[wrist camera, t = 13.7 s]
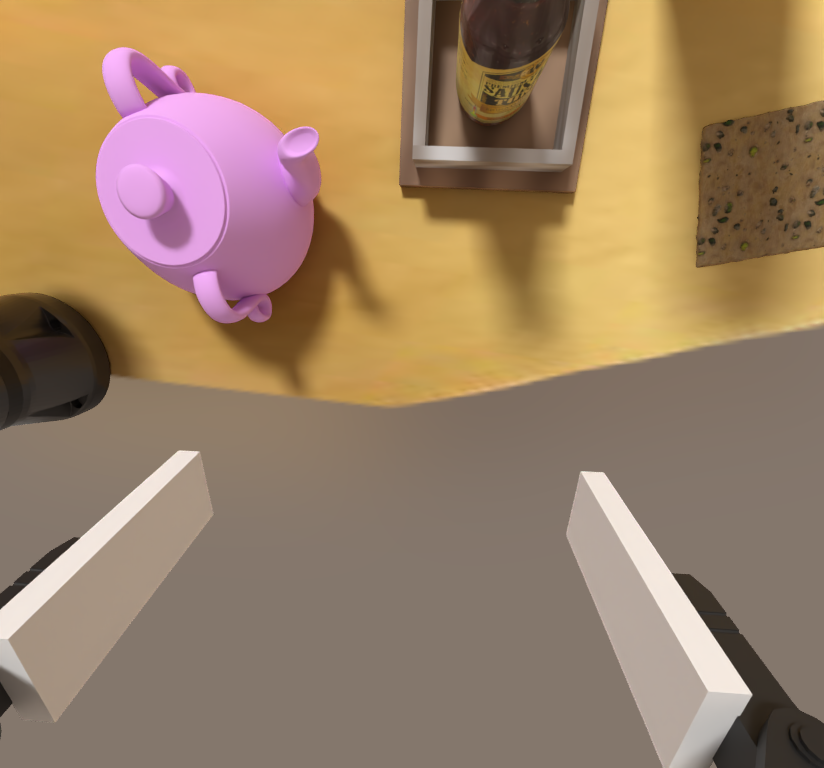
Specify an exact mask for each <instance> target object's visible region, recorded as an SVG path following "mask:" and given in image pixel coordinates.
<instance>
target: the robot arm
mask: <svg viewBox="0 0 824 768" xmlns="http://www.w3.org/2000/svg"><path fill="white" fill-rule="evenodd" d="M109 381H110V367H109V361H108V357H107V354H106V351H105V349H104V346H103V344H102V342H101V340H100V338H99V337H98V335H97V334H96V332H95V331H94V329H93V328H92V327H91V326H90V324H89V323H88V322H87V321H86V320H85V319H84V318H83V317H82V316H81V315H80V314H79V313H78V312H76V311H75V310H74V309H72V308H71V307H70V306H68V305H67V304H65V303H63V302H61V301H59V300H57V299H55V298H53V297H50V296H47V295H43V294H38V293H20V294H11V295H3V296H0V430H2V429H5V428H7V427H10V426H15V425H23V424H32V423H40V422H48V421H57V420H64V419H68V418H71V417H74V416H76V415H79V414H81V413H83V412H86V411H88V410H90V409H92V408H93V407H95V406H96V405H98V404H99V403H100V402H101V400H102V399H103V398H104V396H105V394H106V392H107V390H108V387H109ZM212 515H213V509H212V505H211V500H210V496H209V491H208V486H207V482H206V477H205V473H204V468H203V464H202V459H201V455H200V452H196V451H178V452H176V453H175V454H174V455H173V456H172V457H171V458H170V459H169V460H168V461H166V462H165V463H164V464H163V465H162V466H161V467H160V468H159V469H158V470H156V471H155V472H154V473H153V474H152V475H151V476H150V477H148V478H147V479H146V480H145V481H144V482H143V483H142V484H141V485H140V486H138V487H137V488H136V489H135V490H134V491H133V492H132V493H130V495H128V496H127V497H126V498H125V499H124V500H123V501H121V503H119V504H118V505H117V506H116V507H115V508H114V509H113V510H111V511H110V512H109V513H108V514H107V515H106V516H105V517H104V518H102V519H101V520H100V521H99V522H98V523H97V524H96V525H95V526H94V527H92V528H91V529H90V530H89V531H88V532H87V533H86V534H85V535H84V536H82V537H81V538H76V537H74V538H72V539H70V540H68V541H67V542H65V543H63V544H62V545H60V546H58V547H57V548H55V549H53V550H51V551H50V552H49V553H47V554H46V555H45V556H44V557H43V558H42V559H40V560H39V561H38V562H37V563H36V564H35V565H33V566H32V567H31V568H30V571H29V572H25V573H24V574H23V575H22V576H21V577H19V578H18V579H17V580H16V581H15V582H14V584H13V586H9V587H8V588H7V589H5V590H4V591H3V592H2V593H1V594H0V717H1V716H2V715H3V713H4V712H5V711H6V710H7V709H8V708H9V707H10V705H11V704H13V706H14V708H15V709H16V711H17V713H18V714H19V716H20V717H21V719H22V720H29V721H41V722H52V723H55V722H56V721H57V720H58V718H59V717H60V716H61V714H62V713H63V712H64V710H65V709H66V708H67V706H68V705H69V704H70V703H71V701H72V700H73V699H74V697H75V696H76V694H77V693H78V692H79V691H80V689H81V688H82V686H83V685H84V684H85V683H86V681H87V680H88V679H89V677H90V676H91V675H92V674H93V672H94V671H95V670H96V668H97V667H98V666H99V664H100V663H101V662H102V660H103V659H104V658H105V656H106V655H107V654H108V652H109V651H110V650H111V649H112V647H113V646H114V645H115V643H116V642H117V641H118V639H119V638H120V637H121V635H122V634H123V633H124V631H125V630H126V629H127V627H128V626H129V625H130V623H131V622H132V620H134V618H135V617H136V615H137V614H138V613H139V612H140V610H141V609H142V608H143V606H144V605H145V604H146V602H147V601H148V600H149V598H150V597H151V596H152V594H153V593H154V592H155V590H156V589H157V587H159V585H160V584H161V583H162V581H163V580H164V579H165V577H166V576H167V575H168V573H169V572H170V570H171V569H172V568H173V567H174V565H175V564H176V563H177V562H178V560H179V559H180V558H181V556H182V555H183V554H184V552H185V551H186V550H187V548H188V547H189V546H190V544H191V543H192V542H193V540H194V539H195V538H196V537H197V535H198V534H199V533H200V531H201V530H202V529H203V527H204V526H205V524H206V523H207V522H208V520H209V519H210V518H211V517H212ZM566 536H567V538H568V541H569V543H570V545H571V547H572V550H573V553H574V555H575V557H576V560H577V562H578V564H579V567H580V569H581V572H582V574H583V577H584V579H585V581H586V584H587V586H588V589H589V591H590V593H591V595H592V598H593V601H594V603H595V605H596V607H597V610H598V612H599V615H600V617H601V620H602V622H603V625H604V627H605V629H606V632H607V634H608V636H609V639H610V641H611V644H612V646H613V649H614V651H615V653H616V656H617V658H618V661H619V663H620V665H621V668H622V670H623V673H624V675H625V677H626V680H627V682H628V684H629V687H630V689H631V692H632V694H633V697H634V699H635V701H636V704H637V706H638V709H639V711H640V713H641V716H642V718H643V721H644V723H645V725H646V728H647V730H648V733H649V735H650V737H651V740H652V742H653V744H654V747H655V749H656V752H657V754H658V757H659V759H660V761H661V764H662V766H663V768H709V767H710V766H711V764H712V762H713V761H714V762H715V764H716V766H717V768H824V723H822V722H821V721H819V720H818V719H817V718H814V717H812V716H810V715H808V714H806V713H804V712H802V711H800V710H799V709H798V708H797V707H796V706H795V704H794V703H793V702H792V701H791V699H790V698H789V697H788V695H787V694H786V693H785V691H784V690H783V689H782V687H781V686H780V685H779V683H778V682H777V681H776V679H775V678H774V677H773V675H772V674H771V672H770V671H769V670H768V669H767V667H766V666H765V664H764V663H763V662H762V660H761V659H760V658H759V656H758V655H757V654H756V652H755V651H754V650H753V648H752V647H751V646H750V645H749V643H748V642H747V640H746V639H745V638H744V636H743V635H742V634H740V633H739V629H738V628H737V627H736V625H735V624H734V623H733V621H732V620H731V619H730V617H727V616H726V612H725V611H724V609H723V608H722V607H721V605H720V604H719V603H718V601H717V600H716V598H715V597H714V596H713V594H712V593H711V592H710V591H709V590H708V589H706V588H705V587H704V586H703V585H702V584H701V583H699V582H698V581H697V580H696V579H695V578H694V577H692V576H691V575H689V574H674V573H671V572H670V571H669V569H668V568H667V566H666V565H665V563H664V562H663V560H662V559H661V557H660V556H659V554H658V553H657V551H656V550H655V548H654V547H653V545H652V544H651V542H650V541H649V540H648V538H647V536H646V535H645V533H644V532H643V530H642V529H641V527H640V526H639V525H638V523H637V521H636V520H635V519H634V517H633V515H632V514H631V513H630V511H629V510H628V508H627V507H626V505H625V504H624V502H623V501H622V499H621V498H620V496H619V495H618V493H617V492H616V490H615V489H614V487H613V486H612V484H611V483H610V481H609V480H608V478H607V477H606V475H605V474H604V473H602V472H583V471H581V472H580V476H579V480H578V485H577V489H576V494H575V498H574V502H573V506H572V511H571V515H570V519H569V524H568V528H567V533H566ZM0 737H1V725H0Z"/></svg>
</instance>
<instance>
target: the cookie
mask: <svg viewBox="0 0 824 768" xmlns="http://www.w3.org/2000/svg"><path fill="white" fill-rule="evenodd" d="M701 149H702V151H701V171H700V180H699V190H700V194H699V214H698V217H697V218H698V227H697V236H696V239H697V251H696V254H697V260H696V267H703V266H710V265H717V264H724V263H728V262H737V261H742V260H746V259H752V258H759V257H763V256H770V255H776V254H781V253H784V254H785V253H789V252H792V251H799V250H807V249H812V248H818V247H823V246H824V101H818V102H813V103H811V104H808V105H804V106H798V107H790V108H787V109H783V110H780V111H774V112H768V113H765V114H762V115H758V116H754V117H746V118H742V119H738V120H728V121H727V122H723V123H717V124H711V125H708V126H706V127H704V128H703V131H702V140H701Z"/></svg>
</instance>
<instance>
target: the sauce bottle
mask: <svg viewBox="0 0 824 768" xmlns="http://www.w3.org/2000/svg"><path fill="white" fill-rule="evenodd" d="M569 7H570V0H462V3H461V9H460V19H459V36H458V52H457V67H456V89H457V95H458V99H459V102H460V106H461V108H462V110H463V112H464V113H465V115H466V116H467V117H468V118H470V119H471V120H472V121H473V122H476V123H478V124H480V125H483V126H491V125H497V124H501V123H503V122H504V121H506V120H509V119H510V118H511V117H512V116H513V115H514V114H516V113H517V112H518V111H519V110H520V109H521V108H522V106H523V105H524V104H525V103H526V101H527V99H528V97H529V95H530V93H531V91H532V90H533V88H534V86H535V84H536V82H537V80H538V78H539V76H540V75H541V73H542V71H543V68H544V67H545V65H546V63H547V61H548V59H549V57H550V55H551V53H552V51H553V49H554V47H555V46H556V44H557V42H558V40H559V38H560V36H561V34H562V32H563V30H564V28H565V26H566V23H567V20H568V14H569Z"/></svg>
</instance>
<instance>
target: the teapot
mask: <svg viewBox="0 0 824 768" xmlns="http://www.w3.org/2000/svg"><path fill="white" fill-rule="evenodd" d="M102 71H103V78H104V82H105V85H106V88H107V91H108V93H109V95H110V97H111V99H112V102H113V103H114V105H115V107H116V109H117V111H118V112H119V113H120V115H121V116H122V117H123V119H122V120H121V121H119V122H118V123H117V124H116V125H115V126H114V128H113V129H112V130H111V131H110V133H109V134H108V136H107V137H106V139H105V140H104V142H103V144H102V146H101V149H100V152H99V155H98V159H97V165H96V185H97V191H98V196H99V200H100V203H101V206H102V209H103V211H104V214H105V216H106V218H107V220H108V222H109V224H110V226H111V227H112V229H113V230H114V232H115V233H116V235H117V236H118V237H119V238H120V240H121V241H122V242H123V243H124V245H125V246H126V247H127V248H128V249H129V250H130V251H131V252H132V253H133V254H134V255H135V256H136V257H137V258H138V259H139V260H140V261H141V262H143V263H144V264H145V265H146V266H147V267H149V268H150V269H151V270H152V271H153V272H155V273H156V274H158V275H159V276H161V277H162V278H164V279H165V280H167V281H168V282H170V283H171V284H174V285H176V286H178V287H180V288H182V289H184V290H186V291H189V292H191V293H194V294H196V295H197V298H198V300H199V302H200V304H201V306H202V307H203V309H204V310H205V312H206V313H207V314H208V315H209V316H210V317H211V318H212V319H214V320H215V321H218V322H221V323H234V322H237V321H240V320H242V319H243V318H245V317H246V316H247V315H248V317H249V318H250V319H251V320H252V321H255V322H264V321H266V320H268V319H269V318H270V317H271V314H272V303H271V300H270V298H269V296H268V295H266V294H268V293H270V292H272V291H274V290H276V289H278V288H279V287H281V286H282V285H283V284H285V283H286V282H287V281H288V280H289V279H290V278H291V277H292V276H293V275H294V274H295V273H296V271H297V270H298V268H299V267H300V266H301V264H302V262H303V260H304V258H305V256H306V254H307V251H308V249H309V246H310V243H311V238H312V234H313V225H314V205H313V199H314V198H315V197H316V196H317V194H318V192H319V190H320V185H321V172H320V167H319V163H318V160H317V158H316V156H315V154H314V152H313V151H314V149H315V148H316V146H317V144H318V141H319V135H318V133H317V131H316V130H315V129H314V128H311V127H299V128H296V129H293V130H291V131H289V132H288V133H287V134H285V135H283V133H282V132H281V131H280V130H279V129H278V128H277V127H276V126H275V125H274V124H273V123H272V122H270V121H269V120H268V119H267V118H265V117H264V116H262V115H261V114H260V113H258V112H256V111H255V110H253V109H251V108H249V107H247V106H245V105H244V104H242V103H239V102H237V101H234V100H231V99H228V98H225V97H221V96H216V95H211V94H204V93H196V92H195V89H194V87H193V85H192V83H191V81H190V79H189V78H188V76H187V75H186V73H185V72H183V71H182V70H181V69H180V68H178V67H175V66H169V65H166V66H164V67H162V68H161V69H160V68H159V67H158V66H157V65H156V64H155V63H153V62H152V61H151V60H150V59H149V58H147V57H146V56H145V55H143V54H142V53H140V52H138V51H136V50H134V49H131V48H125V47H123V48H117V49H114V50H112V51H110V52H109V53H108V54H107V55H106V56H105V58H104V60H103V65H102ZM133 76H134V77H135V78H136V79H138V80H139V81H140V82H141V83H142V84H144V85H145V86H146V87H147V88H148V89H149V90H151V91H152V92H153V93H154V94H155V95H156V96H158V97H159V98H157V99H154V100H152V101H150V102H148V103H146V104H145V103H144V101H143V99H142V97H141V95H140V93H139V91H138V88H137V86H136V84H135V81H134V78H133ZM226 300H240V301H239V302H238V303H237V304H236V305H235V306H234V307H233V308H232V309H231V308H230V306H229V305H228V304H227V302H226Z"/></svg>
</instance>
